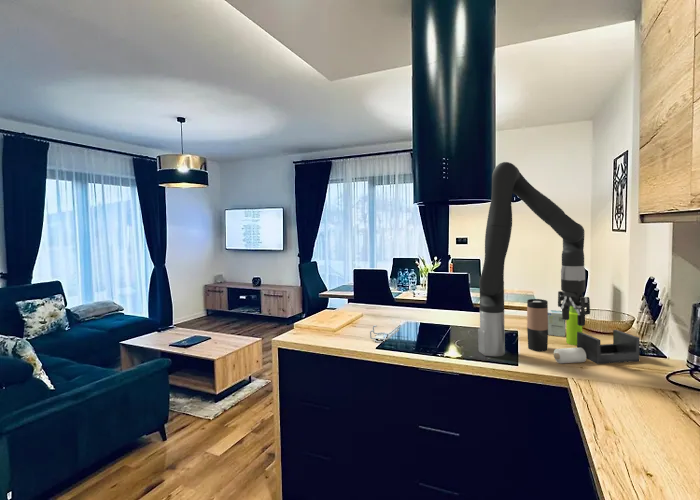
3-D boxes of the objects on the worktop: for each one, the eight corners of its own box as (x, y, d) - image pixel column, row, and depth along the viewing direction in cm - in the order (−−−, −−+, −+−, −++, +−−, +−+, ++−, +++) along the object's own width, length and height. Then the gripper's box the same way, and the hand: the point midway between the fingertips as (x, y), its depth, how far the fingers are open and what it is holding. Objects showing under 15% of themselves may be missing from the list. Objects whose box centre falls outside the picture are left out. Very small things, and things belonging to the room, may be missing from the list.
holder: (597, 364, 136) (597, 340, 136) (577, 354, 147) (577, 331, 147) (639, 361, 137) (639, 337, 137) (616, 351, 148) (616, 329, 148)
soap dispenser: (587, 345, 156) (587, 298, 155) (569, 345, 158) (569, 298, 157) (581, 341, 162) (581, 295, 161) (564, 341, 164) (564, 295, 162)
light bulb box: (565, 333, 175) (565, 310, 174) (565, 337, 169) (564, 313, 169) (540, 330, 181) (540, 308, 180) (538, 334, 175) (538, 311, 174)
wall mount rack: (373, 333, 187) (373, 322, 186) (401, 334, 184) (401, 322, 183) (369, 343, 171) (368, 330, 171) (398, 344, 168) (398, 331, 168)
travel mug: (547, 346, 157) (547, 299, 156) (548, 352, 150) (548, 302, 149) (527, 345, 160) (526, 298, 159) (527, 350, 153) (527, 301, 152)
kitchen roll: (561, 359, 135) (555, 346, 138) (555, 365, 139) (549, 352, 142) (591, 358, 136) (584, 344, 139) (584, 364, 140) (577, 351, 143)
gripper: (551, 276, 142) (551, 318, 143) (576, 281, 128) (576, 328, 129) (570, 275, 143) (570, 317, 144) (597, 280, 129) (597, 327, 129)
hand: (573, 322), depth 136 cm, fingers open, 8 cm apart
